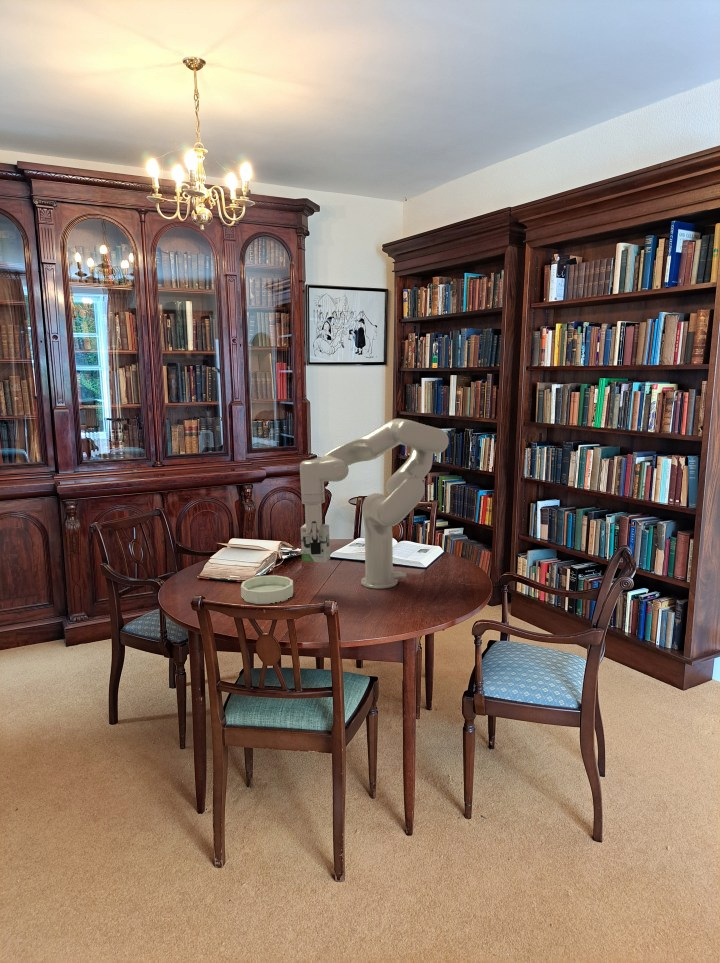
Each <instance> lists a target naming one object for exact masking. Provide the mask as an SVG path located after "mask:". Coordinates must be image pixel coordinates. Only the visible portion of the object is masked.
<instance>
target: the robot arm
mask: <svg viewBox="0 0 720 963" xmlns="http://www.w3.org/2000/svg"><path fill="white" fill-rule="evenodd" d="M449 440H450V439H449V436H448V434H447V432H445V431H444V430H443V429H442V428H438V427H434V426H430V425H426V424H423V423H421V422H420V423H419V422H417V421H414V420H409V419H406V418H405V419H404V418H393V419H390V420H389V421H388V422H386V423H384V424H382V425H381V426H379V427H377V428H375V429H373V430H372V431H369V433H367V434H365V435H364V436H362V437H360V438H357V439H354V440H352V441H349V442H347V443H344V444H343V445H340V446H338V447H336V448H335V449H332V450H330V451H329V452H328V453H326V454H324V455H323V456H321V457H320V458H319V459H309V460H308V459H307V460H306V459H305V460H302V461H301V462H300V463H299V476H300V478H299V481H300V493H301V494H300V495H301V504H302V505H304V513H305V514H304V517H305V518H304V519H305V524H306V534H308V533H310V531H311V542H310V545H311V554H312V555H314V554H321V547H320V542H319V534H320V533H321V526H322V524H323V518H322V517H323V516H322V515H323V514H322V504H324V503H325V502H326V498H325V496H326V495H325V482H338V483H339V482H341V481H343V480H345V479H346V478H347V477H348V475H349V469H350V468H349V466H351V465H353V464H356V463H361V462H368V461H372V460H376V459H377V458H379V457H381V456H383V455H384V454H386V453H387V452H389V451H391V450H392V449H394V448H395V447H397V446H399V445H402V446H407V447H410V448H411V452H410V454H409V457H408V458H407V460H405V462H404V463H403V464H402V465H401V466H400V467H399V468H398V469H397V470H396V471H395V472H394V473H393V474H392V475H391V476H390V477H389V478H388V480H387V481H386V483H385V484H386V485H385V489H386V493H388V495H386V494H383V493H379V492H377V493H376V492H375V493H370V494H368V495H367V496H366V497H365V499H364V500H363V502H362V506H361V513H362V518H363V519H362V520H363V525H364V527H363V528H364V555H365V556H364V564H365V568H364V569H365V576H364V577H362V578H361V581H360V582H361V585H362V586H364V587H365V588H369V589H378V590H379V589H389V588H393V587H395V586H396V585H397V584H398V579H407V572H403V571H396V570H394V567H393V566H394V565H393V564H394V562H393V553H394V552H393V551H394V550H393V540H394V539H393V538H394V537H393V536H394V535H393V527H394V526H396V525H398V524H400V523H401V522H402V521H403V520H404V519H405V518H406V517H407V516H408V515H409V514H410V512H411V511H413V510H414V508H416V506H417V505H418V504H419V503H420V502H421V500H422V499H423V497H424V495H425V490H426V488H425V486H426V485H425V482H423V480H424V478H425V477H426V476H427V475H428V474H429V473H430V471H431V469H432V466H433V458H434V454H435V455H437V454H441V453H443V452H444V451H446V449H447V448H448V447H449V442H450V441H449ZM316 531H318V533H316ZM312 532H313V533H312ZM312 535H313V536H312ZM317 535H318V537H317Z"/></svg>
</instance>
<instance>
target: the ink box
mask: <svg viewBox="0 0 720 963" xmlns="http://www.w3.org/2000/svg"><path fill="white" fill-rule="evenodd" d="M312 533H313V532H312ZM316 533H318V531H316ZM312 536H313V535H312ZM317 537H318V535H317ZM330 541H331V540H330V525H329V524H327V523H322V526H321V533H320V534H319V542H320V547H321V554H314V555H312V554H311V545H310V542H311V531H310V533H308V534H306V523H304V524H303V525H301V527H300V543H301V544H300V545H301V546H300V547H301V562H312V563H313V562H314V563H327V562H328V561H329V560H330V559H331V544H330V543H331V542H330Z"/></svg>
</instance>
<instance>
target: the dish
mask: <svg viewBox="0 0 720 963" xmlns="http://www.w3.org/2000/svg"><path fill="white" fill-rule="evenodd" d="M240 595H241V596H240V597H242V598H243V599H244V600H243V599H242V598H241V599H242V600H243V601H244V602H246V603H251V604H256V605H268V604H270V603H273V604H276V603H275V602H277V603H281V602H285V601H287V600H289V599H290V597H291V598H292V597H293V596H294V580H293V579H291V578H290V577H288V576H281V575H275V574H274V575H259V576H255V577H250V578H248V579H246V580H244V581H242V582H241V585H240ZM288 598H289V599H288ZM280 601H281V602H280ZM270 605H271V604H270Z"/></svg>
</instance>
